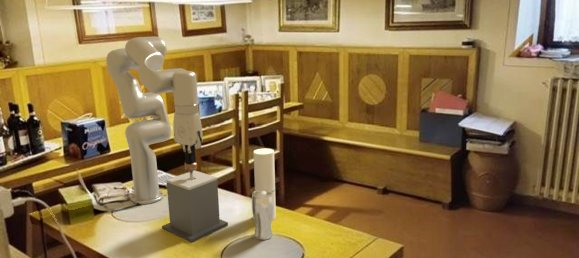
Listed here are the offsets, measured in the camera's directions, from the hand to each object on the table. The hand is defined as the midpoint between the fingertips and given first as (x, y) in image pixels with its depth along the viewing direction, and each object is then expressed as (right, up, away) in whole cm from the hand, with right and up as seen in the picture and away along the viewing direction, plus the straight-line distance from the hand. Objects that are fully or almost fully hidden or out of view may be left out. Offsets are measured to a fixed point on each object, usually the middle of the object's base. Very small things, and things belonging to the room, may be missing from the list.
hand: (190, 162), depth 159 cm
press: (0, -23, +6) cm, 24 cm away
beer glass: (+24, -24, -1) cm, 35 cm away
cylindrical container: (+25, -21, +13) cm, 35 cm away
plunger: (0, -16, +4) cm, 17 cm away
